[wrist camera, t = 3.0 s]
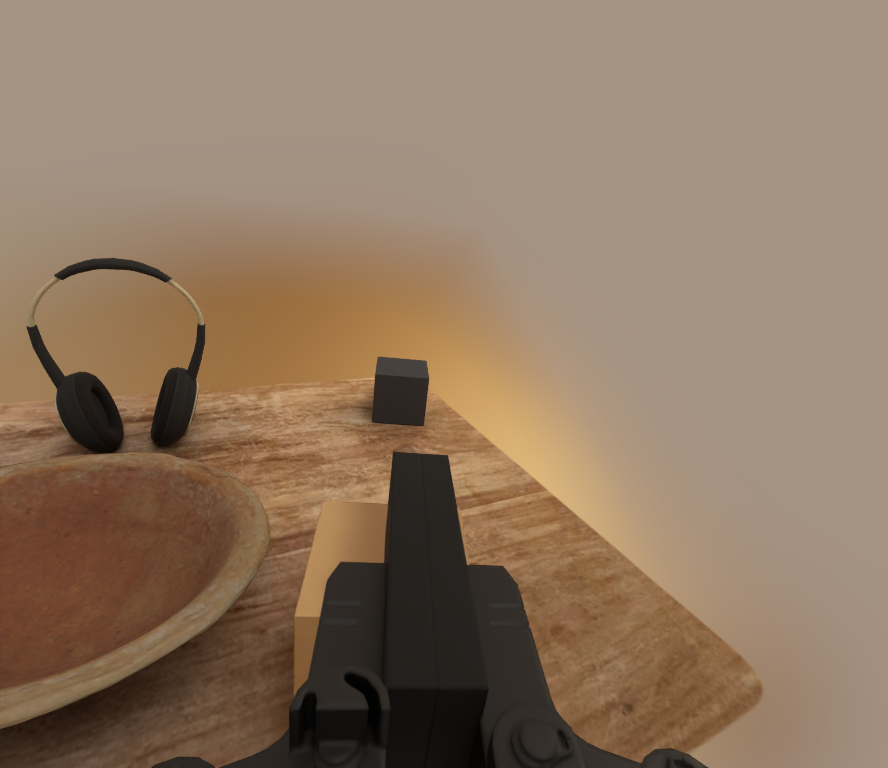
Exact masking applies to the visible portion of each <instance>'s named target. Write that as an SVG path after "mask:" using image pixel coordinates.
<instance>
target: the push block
mask: <svg viewBox="0 0 888 768" xmlns="http://www.w3.org/2000/svg"><path fill="white" fill-rule="evenodd" d="M457 510H458V516H459V522H460V527H461V533H462V539H463V544H464V550H465V556H466V561H467V565H470V561H469V555H468V550H467V544H466V539H465V533H464V528H463V523H462V517H461V512H460V508H459V507H457ZM387 511H388V504H377V503H356V502H335V501H323V504H322V508H321V512H320V516H319V520H318V524H317V528H316V532H315V536H314V539H313V543H312V547H311V551H310V555H309V559H308V563H307V567H306V571H305V575H304V579H303V583H302V587H301V590H300V594H299V598H298V602H297V606H296V610H295V614H294V697H295V695H296V692H297V690H298V689H299V688H300V687H301V686H302V685H303V683H304V682H305V681H306V680H307V679H308V675H309V670H310V665H311V660H312V655H313V649H314V644H315V639H316V634H317V629H318V625H319V618H320V613H321V608H322V604H323V598H324V593H325V587H326V582H327V579H328V578H329V576H330V575H331V574H332V572H333V571H334V570H335V568H336V567H337V566H338V564H339V563H340V562H367V563H384V550H385V532H386V521H387Z"/></svg>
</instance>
